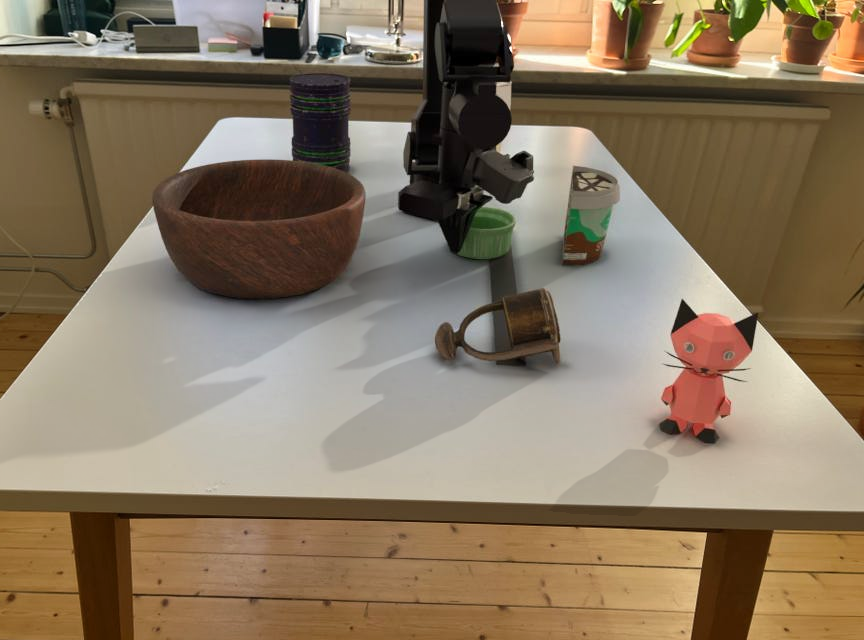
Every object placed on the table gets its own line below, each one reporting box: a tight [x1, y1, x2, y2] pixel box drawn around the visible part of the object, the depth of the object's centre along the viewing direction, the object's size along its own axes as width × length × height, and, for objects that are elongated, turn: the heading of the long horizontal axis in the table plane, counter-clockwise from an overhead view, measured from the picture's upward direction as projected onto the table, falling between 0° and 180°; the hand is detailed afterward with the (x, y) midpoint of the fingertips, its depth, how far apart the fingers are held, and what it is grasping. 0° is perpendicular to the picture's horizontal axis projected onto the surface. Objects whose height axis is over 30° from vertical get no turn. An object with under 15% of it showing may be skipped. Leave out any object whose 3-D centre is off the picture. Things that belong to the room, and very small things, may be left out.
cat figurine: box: [658, 298, 759, 444], centre depth 70 cm, size 7×7×12 cm
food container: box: [561, 165, 621, 266], centre depth 106 cm, size 12×6×10 cm, turn 168°
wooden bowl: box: [151, 158, 367, 300], centre depth 99 cm, size 25×25×10 cm
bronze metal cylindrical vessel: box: [434, 287, 562, 365], centre depth 82 cm, size 7×13×10 cm
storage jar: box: [289, 72, 352, 174], centre depth 135 cm, size 10×10×15 cm
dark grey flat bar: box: [489, 243, 527, 367], centre depth 98 cm, size 38×3×1 cm, turn 175°
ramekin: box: [455, 206, 517, 260], centre depth 108 cm, size 9×9×4 cm
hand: (455, 252), depth 103 cm, fingers closed
